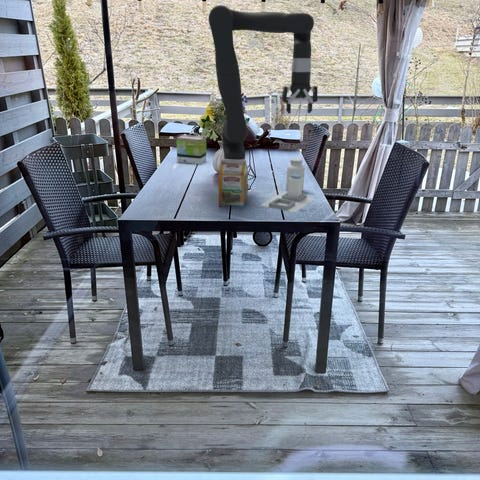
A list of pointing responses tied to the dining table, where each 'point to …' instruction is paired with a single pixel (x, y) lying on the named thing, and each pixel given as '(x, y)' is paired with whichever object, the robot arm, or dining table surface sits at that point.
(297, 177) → the plug
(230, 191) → the milk carton
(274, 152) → the dining table surface
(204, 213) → the dining table surface
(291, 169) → the pill bottle
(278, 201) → the panel
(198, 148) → the tea box
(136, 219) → the dining table surface
